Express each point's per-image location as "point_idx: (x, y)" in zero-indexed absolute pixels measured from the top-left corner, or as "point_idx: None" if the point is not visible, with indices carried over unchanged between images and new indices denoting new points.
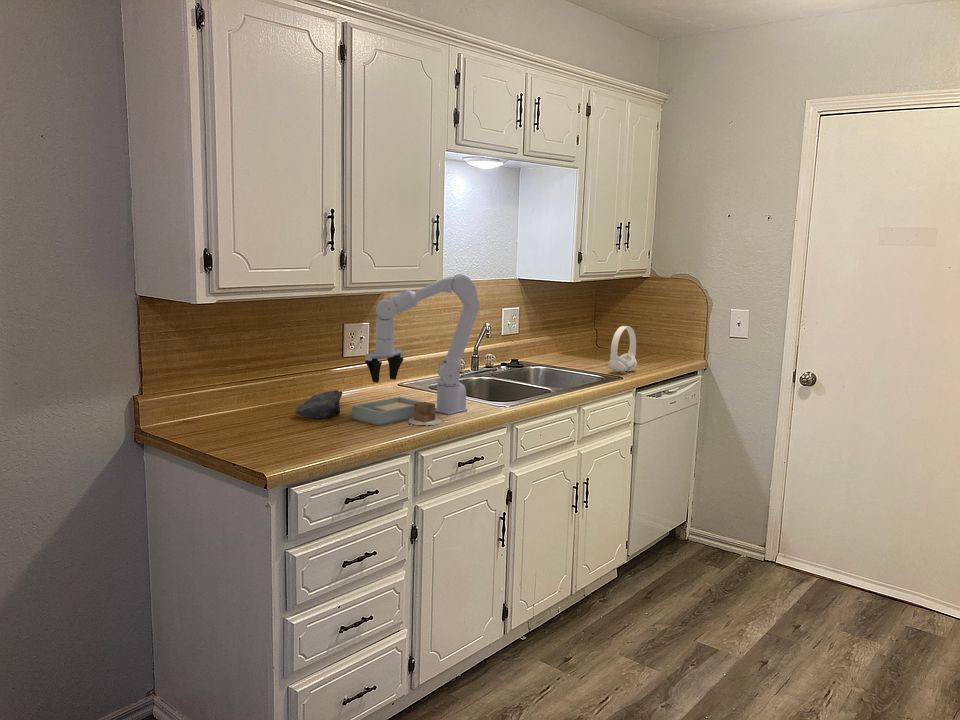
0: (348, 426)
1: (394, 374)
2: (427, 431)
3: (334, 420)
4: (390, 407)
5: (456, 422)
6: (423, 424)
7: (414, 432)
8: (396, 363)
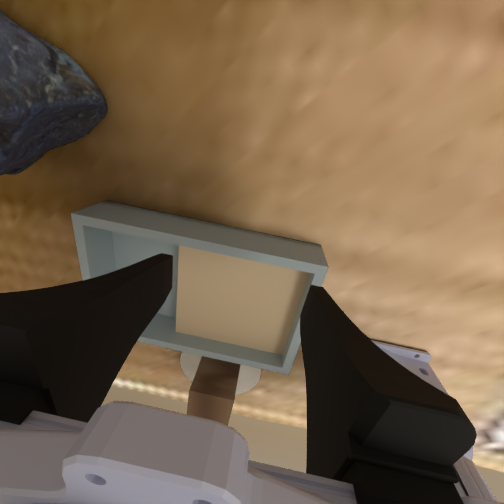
0: (45, 246)
1: (303, 338)
2: (161, 391)
3: (44, 166)
4: (215, 283)
5: (263, 408)
6: (187, 376)
7: (136, 377)
8: (310, 434)
